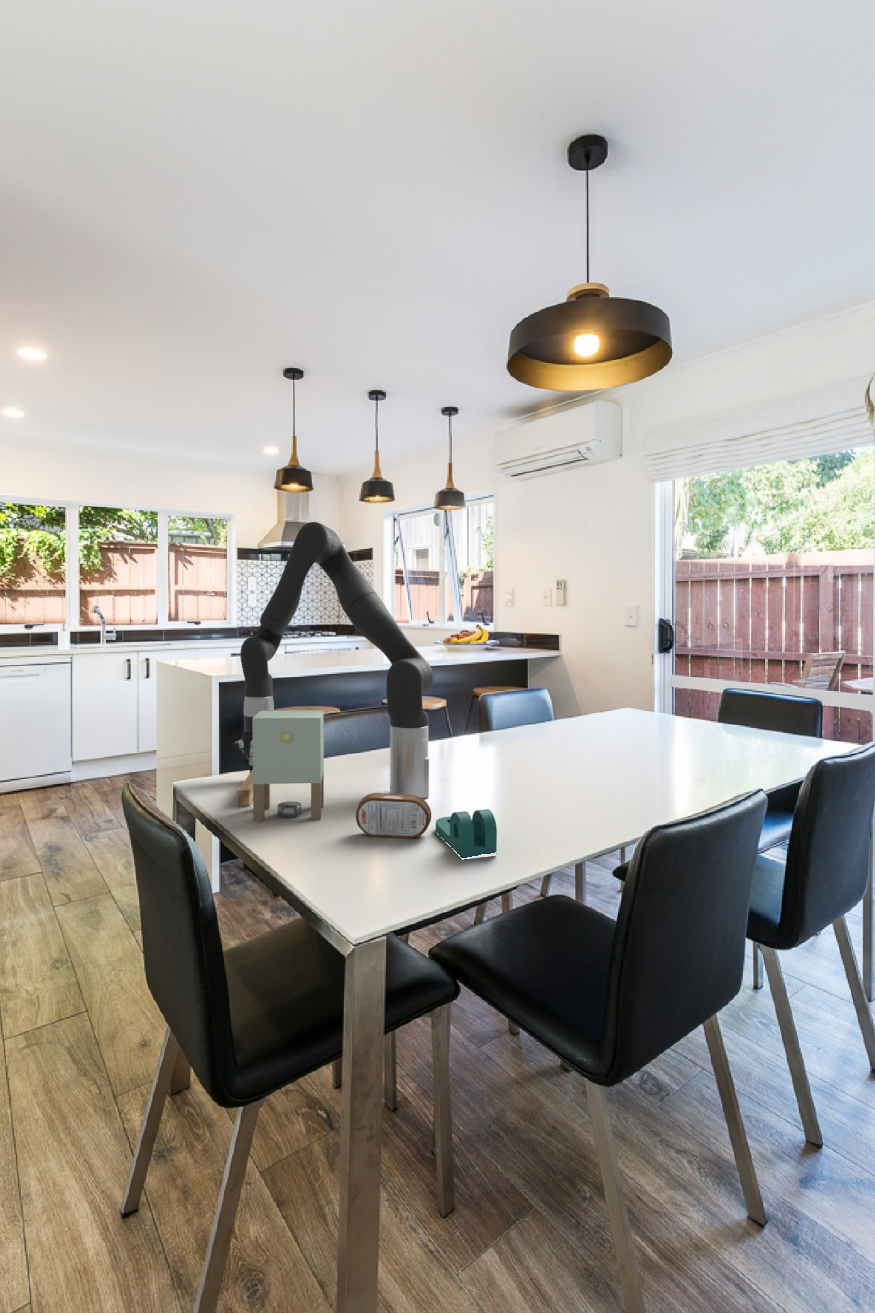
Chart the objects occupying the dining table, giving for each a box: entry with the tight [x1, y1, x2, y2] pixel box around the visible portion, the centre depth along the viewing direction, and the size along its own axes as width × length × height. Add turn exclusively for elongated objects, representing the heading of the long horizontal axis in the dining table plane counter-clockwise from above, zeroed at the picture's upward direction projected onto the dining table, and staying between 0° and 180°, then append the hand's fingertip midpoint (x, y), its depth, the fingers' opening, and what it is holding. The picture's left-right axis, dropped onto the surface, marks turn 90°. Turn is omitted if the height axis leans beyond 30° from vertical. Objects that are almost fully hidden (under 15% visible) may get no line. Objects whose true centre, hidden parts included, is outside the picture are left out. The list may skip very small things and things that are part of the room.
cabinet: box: [252, 709, 325, 822], centre depth 139 cm, size 14×11×22 cm
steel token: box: [277, 800, 302, 820], centre depth 139 cm, size 5×5×2 cm
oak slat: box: [237, 770, 253, 808], centre depth 156 cm, size 2×24×4 cm, turn 6°
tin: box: [355, 792, 432, 839], centre depth 127 cm, size 15×3×8 cm, turn 84°
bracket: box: [435, 808, 498, 858], centre depth 124 cm, size 18×7×8 cm, turn 18°
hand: (259, 778), depth 166 cm, fingers closed on oak slat, 2 cm apart
